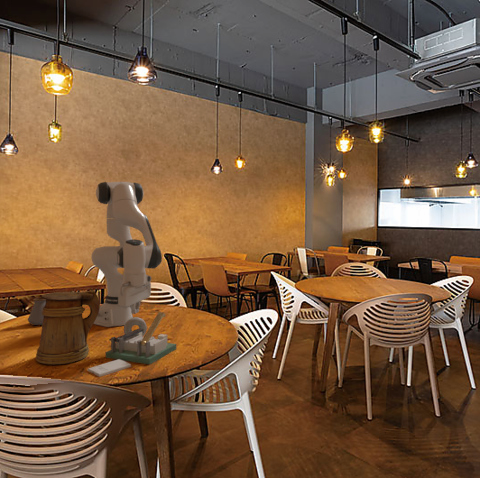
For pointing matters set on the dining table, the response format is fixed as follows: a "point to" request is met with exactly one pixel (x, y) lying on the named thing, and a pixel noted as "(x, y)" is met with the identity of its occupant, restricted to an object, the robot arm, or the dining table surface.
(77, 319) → the tankard
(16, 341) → the dining table surface
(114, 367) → the external hard drive
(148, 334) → the strap brass
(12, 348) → the dining table surface
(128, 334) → the dark grey long bar
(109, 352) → the board
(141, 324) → the donut
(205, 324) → the dining table surface
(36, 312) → the coffee pot
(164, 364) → the dining table surface
